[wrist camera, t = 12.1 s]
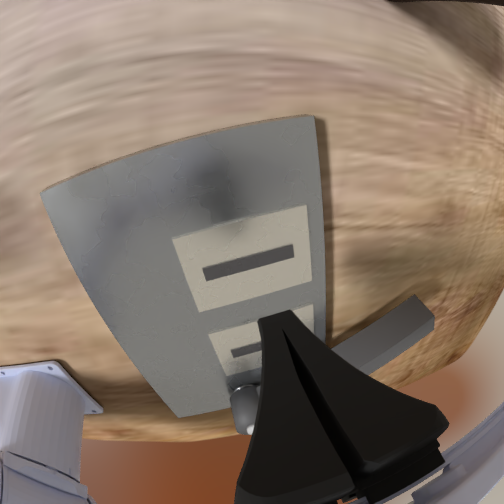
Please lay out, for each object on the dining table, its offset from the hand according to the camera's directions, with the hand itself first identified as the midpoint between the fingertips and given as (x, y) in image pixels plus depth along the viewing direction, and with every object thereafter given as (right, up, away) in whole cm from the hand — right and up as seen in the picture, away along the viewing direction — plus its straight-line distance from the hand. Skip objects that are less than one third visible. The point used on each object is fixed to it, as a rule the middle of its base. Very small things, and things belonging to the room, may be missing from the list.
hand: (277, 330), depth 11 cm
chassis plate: (-3, -1, +7) cm, 8 cm away
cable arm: (+5, -5, +10) cm, 13 cm away
